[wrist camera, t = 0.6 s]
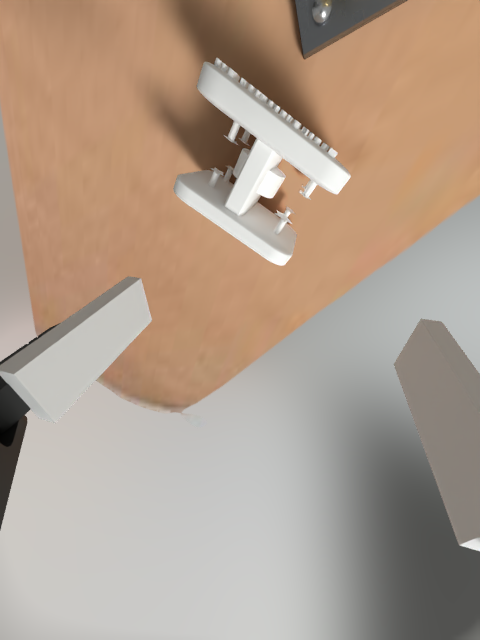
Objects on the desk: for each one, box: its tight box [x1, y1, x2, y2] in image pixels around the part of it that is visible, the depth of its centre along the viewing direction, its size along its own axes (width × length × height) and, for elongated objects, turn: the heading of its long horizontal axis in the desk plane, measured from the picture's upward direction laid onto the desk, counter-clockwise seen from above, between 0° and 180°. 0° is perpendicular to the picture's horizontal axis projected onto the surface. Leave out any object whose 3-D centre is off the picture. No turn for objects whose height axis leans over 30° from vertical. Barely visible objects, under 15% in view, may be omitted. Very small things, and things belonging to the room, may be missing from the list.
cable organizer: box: [173, 57, 351, 265], centre depth 25 cm, size 15×11×12 cm
